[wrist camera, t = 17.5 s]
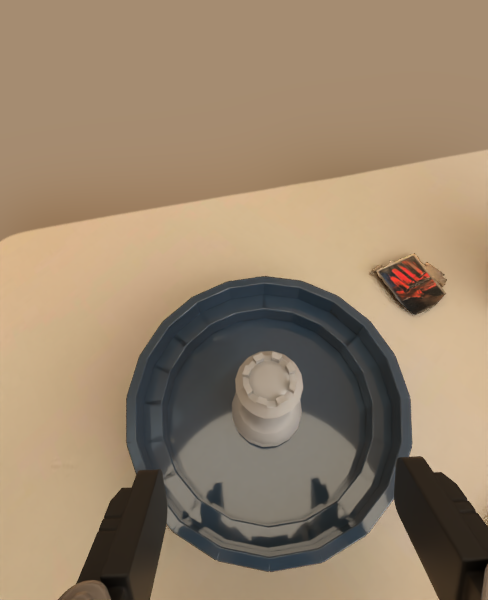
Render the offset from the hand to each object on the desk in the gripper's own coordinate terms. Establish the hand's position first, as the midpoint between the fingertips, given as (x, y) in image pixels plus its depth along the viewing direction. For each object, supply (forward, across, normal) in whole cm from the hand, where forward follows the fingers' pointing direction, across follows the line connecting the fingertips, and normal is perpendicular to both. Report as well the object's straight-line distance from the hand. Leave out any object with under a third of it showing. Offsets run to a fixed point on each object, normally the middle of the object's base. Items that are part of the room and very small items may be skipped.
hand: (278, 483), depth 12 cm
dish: (+11, 0, +5) cm, 12 cm away
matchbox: (+18, -12, -2) cm, 22 cm away
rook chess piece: (+11, 0, +4) cm, 12 cm away
